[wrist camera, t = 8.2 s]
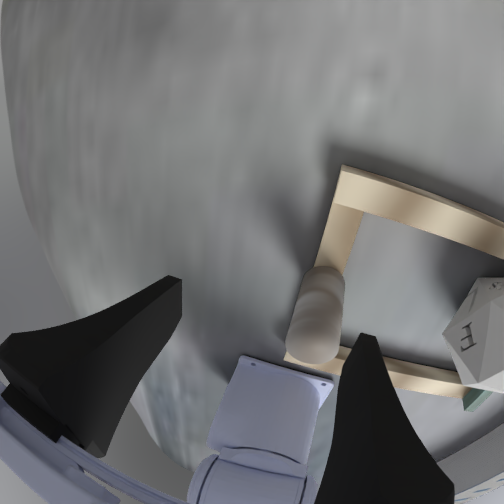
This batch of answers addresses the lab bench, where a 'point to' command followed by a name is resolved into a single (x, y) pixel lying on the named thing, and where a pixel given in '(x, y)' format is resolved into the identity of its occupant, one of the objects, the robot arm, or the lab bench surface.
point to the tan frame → (335, 258)
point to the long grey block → (477, 466)
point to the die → (479, 336)
